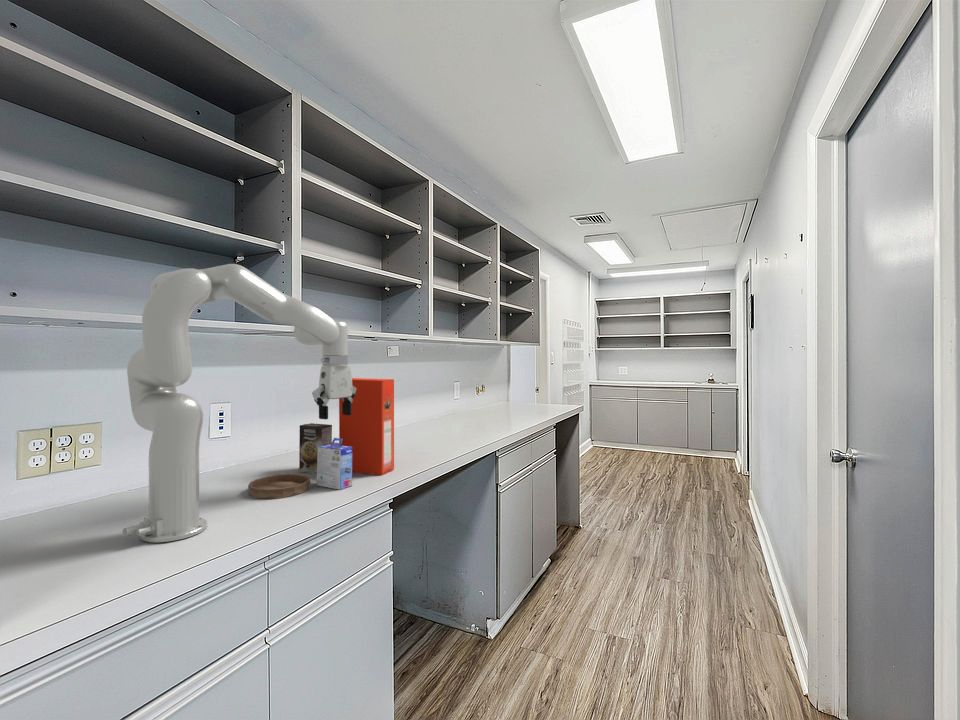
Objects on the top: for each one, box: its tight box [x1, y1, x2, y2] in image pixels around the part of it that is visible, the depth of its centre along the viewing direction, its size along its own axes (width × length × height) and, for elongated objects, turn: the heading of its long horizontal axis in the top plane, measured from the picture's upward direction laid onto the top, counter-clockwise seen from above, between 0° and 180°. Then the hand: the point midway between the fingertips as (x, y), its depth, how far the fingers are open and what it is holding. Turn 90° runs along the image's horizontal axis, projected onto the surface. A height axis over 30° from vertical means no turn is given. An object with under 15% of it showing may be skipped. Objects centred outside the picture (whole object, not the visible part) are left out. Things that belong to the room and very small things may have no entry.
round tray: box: [247, 473, 311, 500], centre depth 135 cm, size 17×17×3 cm
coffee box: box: [298, 422, 333, 475], centre depth 157 cm, size 9×6×16 cm
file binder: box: [338, 377, 395, 476], centre depth 158 cm, size 8×17×32 cm, turn 70°
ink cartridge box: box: [316, 437, 353, 490], centre depth 140 cm, size 10×6×14 cm, turn 64°
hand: (335, 416), depth 140 cm, fingers open, 9 cm apart
